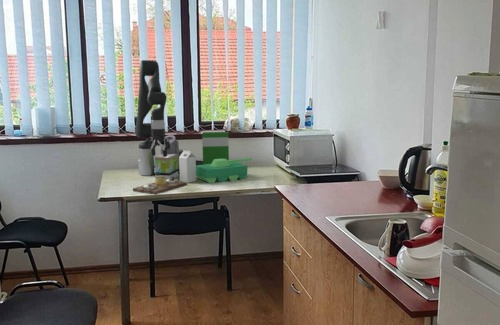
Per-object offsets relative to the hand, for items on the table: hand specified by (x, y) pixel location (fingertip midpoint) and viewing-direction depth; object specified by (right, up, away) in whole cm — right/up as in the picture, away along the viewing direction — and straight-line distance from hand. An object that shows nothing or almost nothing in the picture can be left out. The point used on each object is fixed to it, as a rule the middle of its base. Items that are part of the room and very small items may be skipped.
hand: (159, 156), depth 304 cm
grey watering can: (+1, -10, +53) cm, 54 cm away
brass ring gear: (+1, -17, +2) cm, 17 cm away
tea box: (0, -14, +28) cm, 31 cm away
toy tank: (+37, -14, +27) cm, 48 cm away
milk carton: (+14, -15, +18) cm, 28 cm away
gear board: (0, -18, +2) cm, 18 cm away
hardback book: (+28, -7, +65) cm, 71 cm away
